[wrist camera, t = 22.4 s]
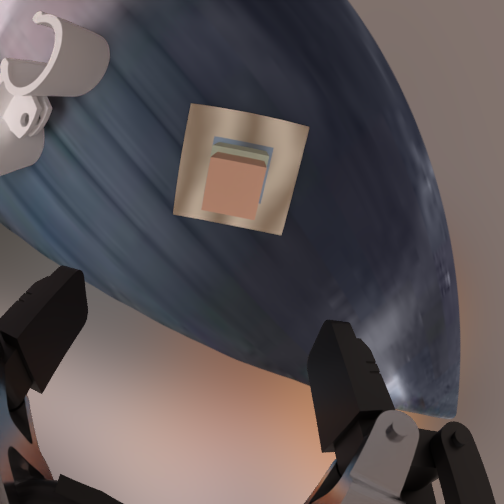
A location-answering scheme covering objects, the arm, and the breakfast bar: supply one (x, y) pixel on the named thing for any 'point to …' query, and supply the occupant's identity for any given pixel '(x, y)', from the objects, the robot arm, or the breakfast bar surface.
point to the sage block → (240, 152)
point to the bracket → (45, 88)
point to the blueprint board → (247, 135)
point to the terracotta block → (233, 185)
